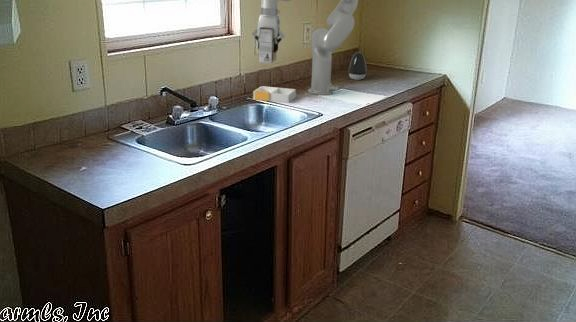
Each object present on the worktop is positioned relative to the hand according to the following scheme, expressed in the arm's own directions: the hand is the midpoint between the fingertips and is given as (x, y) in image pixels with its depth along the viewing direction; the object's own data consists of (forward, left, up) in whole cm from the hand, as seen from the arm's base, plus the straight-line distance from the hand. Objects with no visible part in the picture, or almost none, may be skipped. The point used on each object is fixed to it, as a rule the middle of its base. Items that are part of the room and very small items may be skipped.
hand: (267, 51), depth 255 cm
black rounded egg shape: (-34, -58, -22) cm, 71 cm away
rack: (-4, +1, -22) cm, 22 cm away
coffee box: (0, 0, -5) cm, 5 cm away
